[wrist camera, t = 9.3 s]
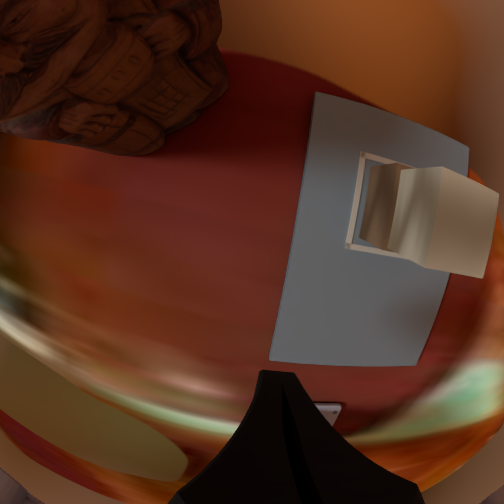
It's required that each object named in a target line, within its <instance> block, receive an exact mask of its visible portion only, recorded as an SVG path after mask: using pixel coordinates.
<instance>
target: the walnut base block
mask: <svg viewBox="0 0 504 504" xmlns="http://www.w3.org/2000/svg"><path fill="white" fill-rule="evenodd" d="M404 169H415V168H412V167H409V166H406V165H403V164H400V163H392V164H385V165H379V166H373V167H371V168H370V175H369V182H368V189H367V195H366V201H365V207H364V213H363V218H362V224H361V229H360V234H359V238H360V239H362V240H364V241H366V242H368V243H370V244H372V245H374V246H376V247H378V248H379V249H381V250H384V251H390V252H394V251H392V250H390V249H388V248H387V247H388V242H389V238H390V233H391V228H392V223H393V218H394V213H395V207H396V201H397V195H398V188H399V181H400V174H401V170H404ZM395 253H396V252H395Z"/></svg>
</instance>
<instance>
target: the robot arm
mask: <svg viewBox="0 0 504 504" xmlns="http://www.w3.org/2000/svg"><path fill="white" fill-rule="evenodd" d="M341 408H342V407H341V404H339V403H313V401H312V400H311V398H310V397H309V395H308V394H307V392H306V391H305V389H304V388H303V386H302V384H301V383H300V381H299V379H298V378H297V376H296V375H295V373H292V372H281V371H270V370H261V371H259V375H258V380H257V384H256V389H255V393H254V398H253V400H252V403H251V405H250V407H249V409H248V411H247V413H246V415H245V416H244V418H243V420H242V422H241V423H240V425H239V427H238V428H237V430H236V431H235V433H234V434H233V436H232V437H231V438H230V440H229V441H228V442H227V444H226V445H225V446H224V447H223V449H222V450H221V451H220V452H219V454H218V455H217V456H216V457H215V458H214V459H213V460H212V461H211V462H210V463H209V464H208V465H207V466H206V467H205V468H204V469H203V470H202V471H201V472H200V473H199V474H198V475H197V476H196V477H194V478H193V479H192V480H191V481H190V482H188V483H187V484H186V485H185V486H183V487H182V488H181V489H180V490H178V491H177V492H176V494H175V495H174V496H173V498H172V499H171V500H170V501H169V503H168V504H425V503H424V500H423V497H422V495H421V492H420V490H419V488H418V486H417V484H416V483H413V482H411V481H409V480H406V479H404V478H402V477H400V476H397V475H395V474H393V473H391V472H389V471H388V470H386V469H384V468H382V467H381V466H379V465H377V464H376V463H374V462H373V461H371V460H370V459H368V458H367V457H366V456H364V455H363V454H362V453H360V452H359V451H358V450H356V449H355V448H354V447H353V446H352V445H350V444H349V443H348V442H347V441H346V440H345V439H344V438H343V437H342V436H341V435H340V434H339V433H338V432H337V431H336V430H335V429H334V428H333V427H332V426H333V424H334V423H335V421H336V419H337V417H338V415H339V413H340V411H341ZM334 411H335V412H334ZM0 504H45V503H43V502H41V501H40V500H38V499H37V498H35V497H34V496H32V495H31V494H29V493H28V492H27V490H26V489H25V488H24V487H23V486H22V485H21V484H20V483H18V482H17V481H16V480H15V479H14V478H12V477H11V476H10V475H9V474H7V473H6V472H5V471H4V470H3V469H1V468H0ZM480 504H504V486H502V487H501V488H499V489H498V490H497V491H495V492H494V493H492V494H491V495H490V496H488V497H487V498H486V499H485V500H483V501H482V502H481V503H480Z"/></svg>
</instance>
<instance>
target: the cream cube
mask: <svg viewBox="0 0 504 504" xmlns="http://www.w3.org/2000/svg"><path fill="white" fill-rule="evenodd" d="M498 198H499V194H498V193H497V192H495V191H493V190H491V189H489V188H487V187H485V186H483V185H481V184H479V183H477V182H475V181H473V180H471V179H469V178H467V177H465V176H463V175H461V174H458V173H456V172H454V171H452V170H449V169H447V168H445V167H428V168H415V169H404V170H401V174H400V181H399V188H398V195H397V201H396V207H395V213H394V218H393V223H392V228H391V233H390V238H389V242H388V247H387V248H388V249H390V250H392V251H394V252H396V253H398V254H399V255H401V256H403V257H405V258H407V259H409V260H411V261H413V262H415V263H417V264H418V265H420V266H422V267H424V268H429V269H434V270H440V271H445V272H451V273H456V274H461V275H467V276H472V277H477V278H482V279H483V276H484V272H485V268H486V264H487V260H488V256H489V252H490V247H491V243H492V238H493V233H494V227H495V221H496V215H497V207H498Z"/></svg>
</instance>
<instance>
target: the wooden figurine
mask: <svg viewBox="0 0 504 504" xmlns="http://www.w3.org/2000/svg"><path fill="white" fill-rule="evenodd" d="M221 31H222V17H221V10H220V5H219V1H218V0H0V132H5V133H8V134H12V135H17V136H19V137H21V138H27V139H34V140H47V141H50V142H54V143H60V144H69V145H73V146H79V147H83V148H87V149H92V150H96V151H100V152H104V153H109V154H114V155H122V156H140V155H146V154H148V153H152V152H154V151H156V150H158V149H160V148H161V147H162V146H164V143H165V137H166V136H167V135H168V134H170V133H172V132H174V131H177V130H179V129H181V128H183V127H185V126H186V125H188V124H190V123H192V122H194V121H195V120H196V119H197V118H198V117H199V116H200V114H201V111H202V108H204V107H206V106H208V105H210V104H211V103H212V102H214V101H215V100H217V99H218V98H219V97H220V96H221V95H223V93H224V92H225V91H226V90H227V89H228V86H229V80H228V75H227V70H226V67H225V64H224V61H223V59H222V56H221V54H220V51H219V49H218V46H217V44H216V42H217V40H218V38H219V36H220V33H221Z"/></svg>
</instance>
